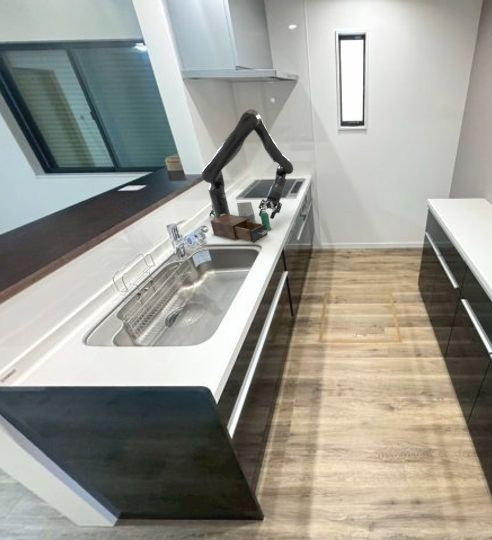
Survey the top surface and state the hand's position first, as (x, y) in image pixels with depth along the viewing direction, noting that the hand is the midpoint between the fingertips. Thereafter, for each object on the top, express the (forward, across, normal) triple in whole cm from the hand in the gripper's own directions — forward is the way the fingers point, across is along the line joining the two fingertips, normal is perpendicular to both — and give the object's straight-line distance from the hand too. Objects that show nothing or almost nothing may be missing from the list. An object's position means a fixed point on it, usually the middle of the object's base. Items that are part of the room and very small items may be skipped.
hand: (265, 217), depth 174 cm
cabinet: (+15, -14, -5) cm, 21 cm away
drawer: (+14, +1, -5) cm, 15 cm away
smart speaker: (+3, -19, +7) cm, 21 cm away
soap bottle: (+6, 0, +5) cm, 7 cm away
